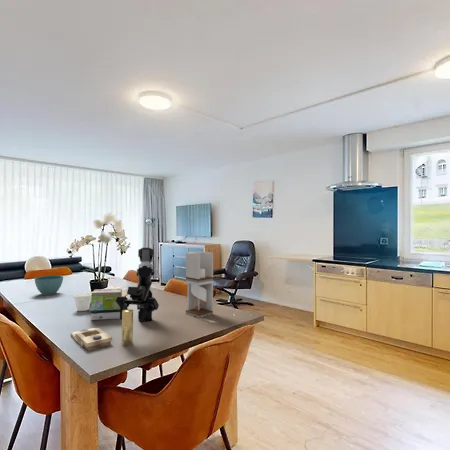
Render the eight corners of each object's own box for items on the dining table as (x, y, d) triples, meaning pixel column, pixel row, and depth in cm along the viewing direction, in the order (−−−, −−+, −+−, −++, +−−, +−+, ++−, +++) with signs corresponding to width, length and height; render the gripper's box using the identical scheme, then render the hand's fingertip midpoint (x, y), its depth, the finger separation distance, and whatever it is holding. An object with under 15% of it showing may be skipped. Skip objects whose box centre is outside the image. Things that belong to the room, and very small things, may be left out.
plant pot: (28, 295, 216) (28, 278, 216) (49, 290, 233) (50, 275, 233) (48, 297, 210) (48, 280, 211) (68, 292, 228) (68, 276, 228)
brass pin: (132, 341, 129) (132, 308, 129) (133, 345, 125) (133, 311, 125) (121, 342, 127) (121, 309, 128) (122, 346, 123) (122, 312, 123)
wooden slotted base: (93, 331, 142) (93, 323, 142) (112, 344, 126) (112, 335, 126) (70, 336, 135) (70, 328, 135) (87, 350, 119) (87, 341, 119)
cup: (84, 313, 172) (85, 296, 172) (69, 312, 174) (69, 296, 174) (95, 308, 182) (95, 293, 182) (81, 307, 184) (81, 292, 184)
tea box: (90, 321, 158) (90, 292, 158) (93, 315, 167) (93, 289, 167) (120, 318, 162) (120, 291, 162) (121, 313, 171) (122, 287, 171)
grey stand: (185, 313, 171) (186, 252, 172) (200, 310, 179) (200, 251, 179) (198, 318, 163) (198, 253, 164) (212, 314, 171) (213, 252, 171)
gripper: (117, 278, 135) (102, 309, 124) (156, 279, 131) (143, 311, 120) (127, 292, 143) (113, 322, 132) (163, 294, 139) (152, 325, 128)
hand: (130, 320), depth 128 cm, fingers open, 9 cm apart
